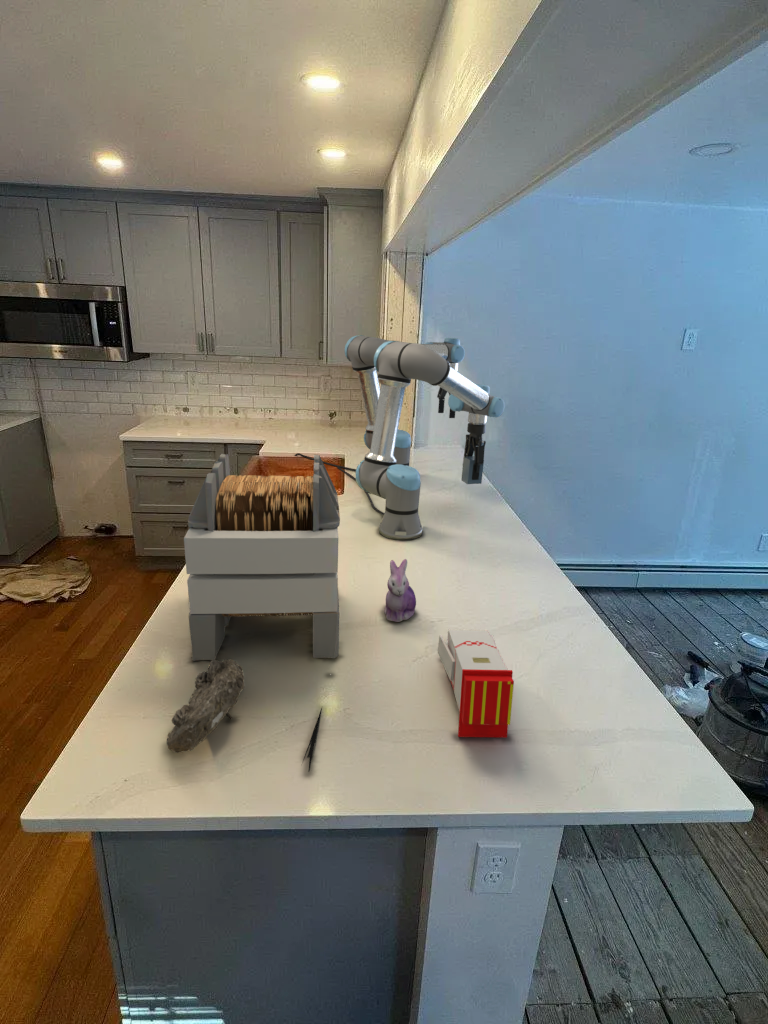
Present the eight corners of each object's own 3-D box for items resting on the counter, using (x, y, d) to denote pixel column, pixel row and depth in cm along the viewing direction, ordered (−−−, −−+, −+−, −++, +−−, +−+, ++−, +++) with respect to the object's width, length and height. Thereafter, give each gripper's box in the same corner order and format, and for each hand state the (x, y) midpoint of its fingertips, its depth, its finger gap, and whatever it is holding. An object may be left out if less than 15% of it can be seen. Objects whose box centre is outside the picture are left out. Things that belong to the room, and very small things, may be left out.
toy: (488, 613, 130) (523, 677, 101) (484, 667, 133) (517, 744, 104) (435, 612, 130) (455, 676, 101) (432, 666, 133) (451, 743, 103)
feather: (331, 679, 122) (336, 673, 122) (307, 777, 96) (313, 769, 95) (324, 675, 122) (329, 669, 121) (298, 772, 95) (304, 764, 95)
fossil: (192, 660, 117) (244, 628, 112) (224, 691, 120) (276, 661, 115) (142, 746, 98) (202, 712, 93) (182, 779, 101) (242, 748, 96)
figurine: (392, 627, 141) (395, 572, 136) (374, 608, 149) (376, 556, 144) (425, 619, 145) (429, 566, 140) (405, 601, 154) (408, 550, 149)
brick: (481, 483, 239) (484, 459, 236) (467, 484, 237) (469, 460, 234) (474, 479, 245) (477, 456, 241) (461, 480, 243) (463, 456, 239)
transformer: (215, 589, 155) (206, 444, 141) (335, 588, 159) (337, 446, 145) (189, 663, 124) (173, 484, 110) (339, 659, 127) (342, 486, 113)
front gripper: (496, 427, 225) (490, 483, 233) (474, 418, 242) (469, 470, 250) (479, 428, 223) (473, 484, 231) (458, 418, 240) (454, 471, 248)
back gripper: (468, 374, 263) (464, 420, 270) (446, 368, 285) (443, 410, 292) (453, 374, 261) (449, 420, 268) (432, 368, 283) (429, 411, 290)
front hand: (471, 477), depth 240 cm, fingers closed on brick, 6 cm apart
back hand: (446, 415), depth 280 cm, fingers open, 13 cm apart
